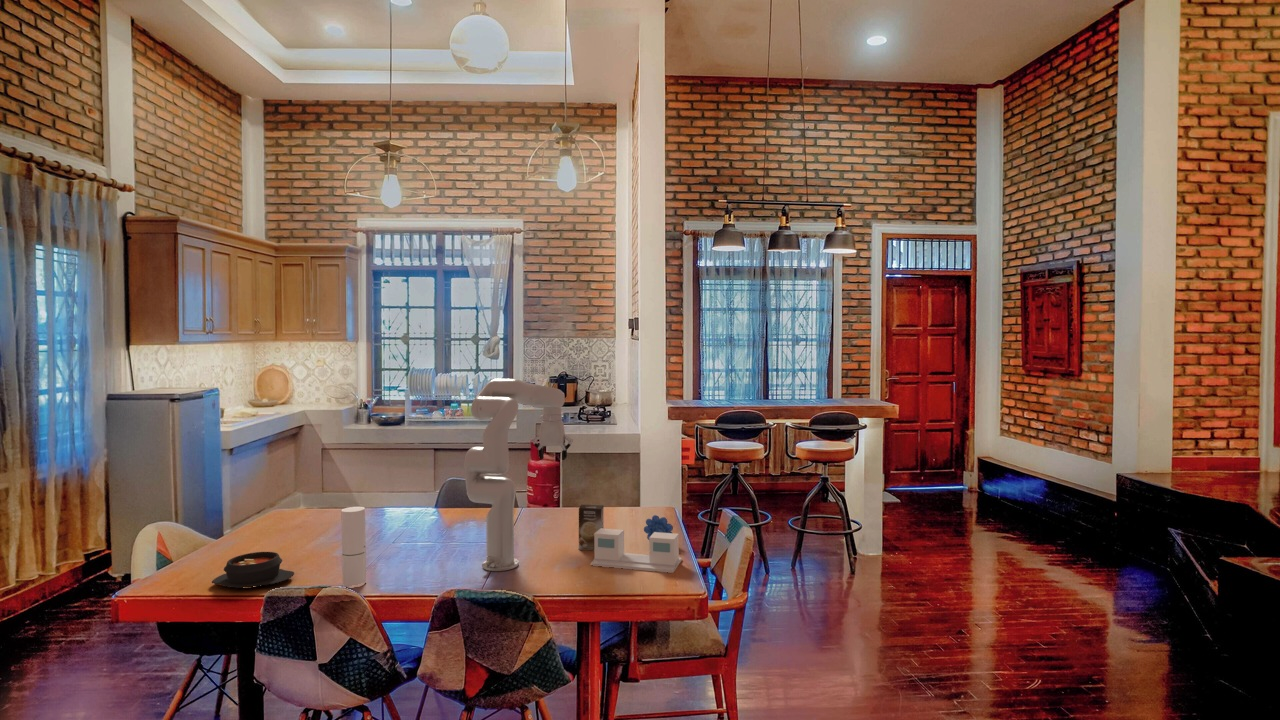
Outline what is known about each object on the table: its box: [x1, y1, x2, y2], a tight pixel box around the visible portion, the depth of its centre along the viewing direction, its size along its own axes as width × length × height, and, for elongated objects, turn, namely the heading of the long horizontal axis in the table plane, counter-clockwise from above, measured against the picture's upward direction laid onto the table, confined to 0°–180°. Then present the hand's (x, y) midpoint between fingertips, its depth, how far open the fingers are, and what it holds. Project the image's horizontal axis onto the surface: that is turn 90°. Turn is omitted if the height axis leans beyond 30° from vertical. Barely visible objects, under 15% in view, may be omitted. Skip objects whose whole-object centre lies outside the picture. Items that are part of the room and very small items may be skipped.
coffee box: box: [578, 504, 605, 551], centre depth 258 cm, size 9×6×16 cm
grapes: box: [643, 514, 674, 541], centre depth 259 cm, size 12×7×12 cm, turn 92°
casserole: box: [211, 551, 295, 589], centre depth 223 cm, size 25×19×8 cm
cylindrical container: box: [340, 506, 367, 587], centre depth 220 cm, size 7×7×25 cm
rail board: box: [590, 527, 683, 574], centre depth 239 cm, size 14×30×11 cm, turn 74°
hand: (552, 459), depth 279 cm, fingers open, 9 cm apart
